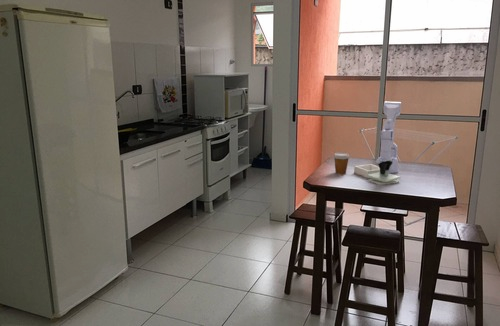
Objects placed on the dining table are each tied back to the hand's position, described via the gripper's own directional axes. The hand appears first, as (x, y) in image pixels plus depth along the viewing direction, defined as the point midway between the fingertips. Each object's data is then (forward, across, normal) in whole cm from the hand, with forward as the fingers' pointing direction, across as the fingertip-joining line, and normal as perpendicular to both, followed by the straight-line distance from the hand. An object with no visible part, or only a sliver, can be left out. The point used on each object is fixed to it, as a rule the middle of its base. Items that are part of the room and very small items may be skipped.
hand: (384, 173), depth 240 cm
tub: (+4, -5, -14) cm, 16 cm away
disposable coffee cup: (+5, +6, -27) cm, 28 cm away
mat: (+4, 0, 0) cm, 4 cm away
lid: (+2, 0, 0) cm, 2 cm away
